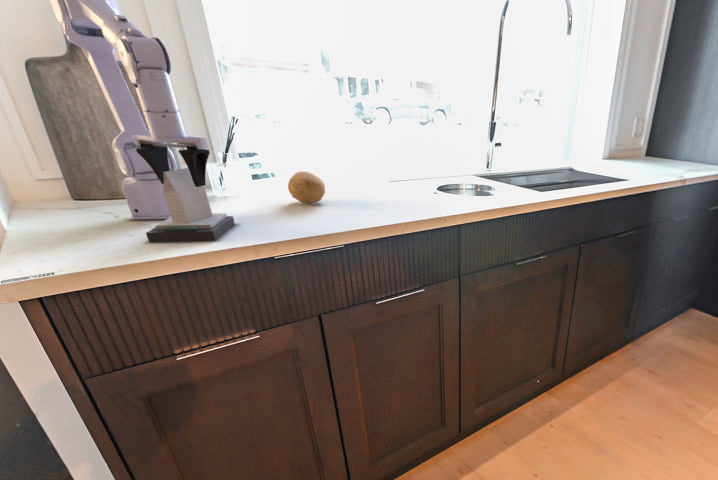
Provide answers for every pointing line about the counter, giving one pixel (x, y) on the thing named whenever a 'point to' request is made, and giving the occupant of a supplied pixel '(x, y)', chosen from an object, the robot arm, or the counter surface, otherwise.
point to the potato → (306, 187)
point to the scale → (191, 229)
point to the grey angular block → (185, 197)
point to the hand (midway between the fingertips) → (184, 184)
